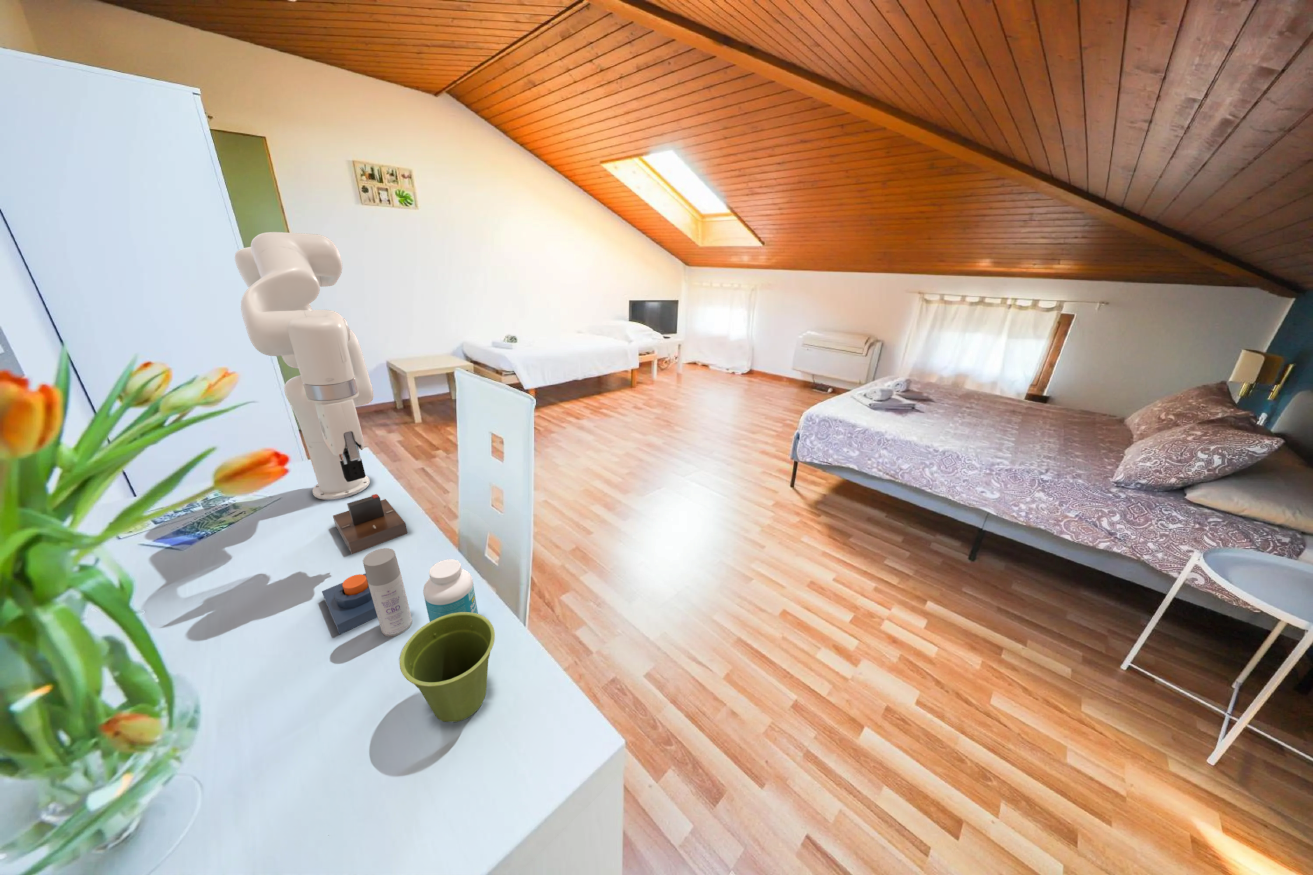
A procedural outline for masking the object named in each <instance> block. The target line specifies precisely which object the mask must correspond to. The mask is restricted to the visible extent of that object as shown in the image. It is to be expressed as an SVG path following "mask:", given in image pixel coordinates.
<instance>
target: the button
mask: <svg viewBox="0 0 1313 875" xmlns="http://www.w3.org/2000/svg"><path fill="white" fill-rule="evenodd" d="M342 583H343V584H342V586H343V589H344V592H345V594H346V595H349V596H350V595H356V594H358V593H361V592H363V591H364V590H365V589H367V587H368V582H367V578H366V576H365V575H363V573H361V574H360V573H359V574H355V575H354V574H353V575H351V576H349V577H347V578H346V579H345V580H344V581H343V582H342Z"/></svg>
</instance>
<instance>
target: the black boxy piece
mask: <svg viewBox="0 0 1313 875" xmlns="http://www.w3.org/2000/svg"><path fill="white" fill-rule="evenodd" d="M381 500H382V499H381V497H380V495H379V494H377V493H375V494H372V495H370V496H367V497H364V498H361V499H357V500H354V501H351V502H347V503H346V505H347V508H348V511H349V512H350V516H351V519H352V522H353V524H354V525H357V524H360V523H363V522H366V521H369V520H373V519H376V518H379V517H382V516H384V512H383V508H382V504H381Z"/></svg>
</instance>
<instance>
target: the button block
mask: <svg viewBox="0 0 1313 875" xmlns="http://www.w3.org/2000/svg"><path fill="white" fill-rule="evenodd" d="M362 575H365V576H366V572H364V573H362ZM366 578H367V577H366ZM367 582H368V581H367ZM342 584H343V582H341V583H338V584H336V585H333V586H331V587H329V588H326V589H323V590H322V591H321V593H322V596H323V598H324V602H325V604H326V606H327V609H328V611H329V614H330V616H331V618H332V620H333V623H334V625H335V628H336V630H337V632H338V634H339V635H342V634H344V633H347V632H349V631H351V630H353V629H355V628H357V627H359V626H361V625H363V624H366V623H367V622H370V621H372V620H375V619H376V618H378V617H377V613H376V610H375V606H374V603H373V599H372V596H371V592H370V589H369V585H368V587H367V589H365V590H364V591H363V592H361V593H358V594H356V595H350V596H349V595H346V594H345V592H344V589H343V586H342Z"/></svg>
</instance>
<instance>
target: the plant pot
mask: <svg viewBox="0 0 1313 875" xmlns="http://www.w3.org/2000/svg"><path fill="white" fill-rule="evenodd" d="M495 640H496V630H495V628H494V625H493V623H492V622H491V621H490V619H488V618H487V617H485V616H484V615H482V614H480V613H478V614H477V613H471V612H458V613H452V614H448V615H445V616H442V617H439V618H437V619H435V620H433V621H431V622H430V621H429V622H427V623H426V624H424V625H423V626H421V627H420V628H419V629H417V630H416V631H415V632H414V634H412V635H411V636H410V637H409V638H408V640H407V642H406V643H405V644H404V646H403V648H402V650H401V653H400V656H399V669H400V673H401V674H402V676H403V677H404V679H405V680H406V681H408V682H410V683H411V684H413V685H414V686H415V687H416V688H417V689H419V691H420V694H422V696H423V698H424V700H425V701H426V703H427V704H428V706H429V708H430V710H431V711H432V712H433V714H434V716H435V717H436V718H437V719H438V720H439V721H441V722H443V723H458V722H462V721H463V720H466V719H468V718H469V717H471V716H472V715H474V714H475V713H476V712H477V711H478V710H479V709H480V708H481V706H482V705H483V703H484V700H485V699H486V695H487V687H488V685H487V684H488V673H489V672H488V670H489V659H490V655H491V652H492V649H493V647H494V644H495Z"/></svg>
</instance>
